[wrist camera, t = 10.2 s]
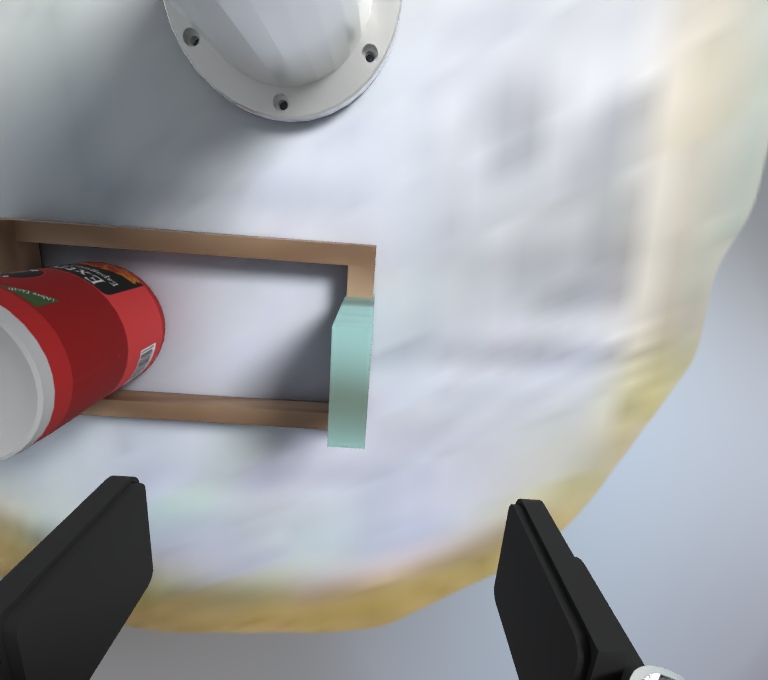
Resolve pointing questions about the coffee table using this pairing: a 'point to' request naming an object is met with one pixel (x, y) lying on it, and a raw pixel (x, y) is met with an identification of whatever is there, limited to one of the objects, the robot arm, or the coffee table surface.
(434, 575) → the coffee table surface
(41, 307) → the canned food
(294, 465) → the coffee table surface
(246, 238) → the wooden rectangular frame
